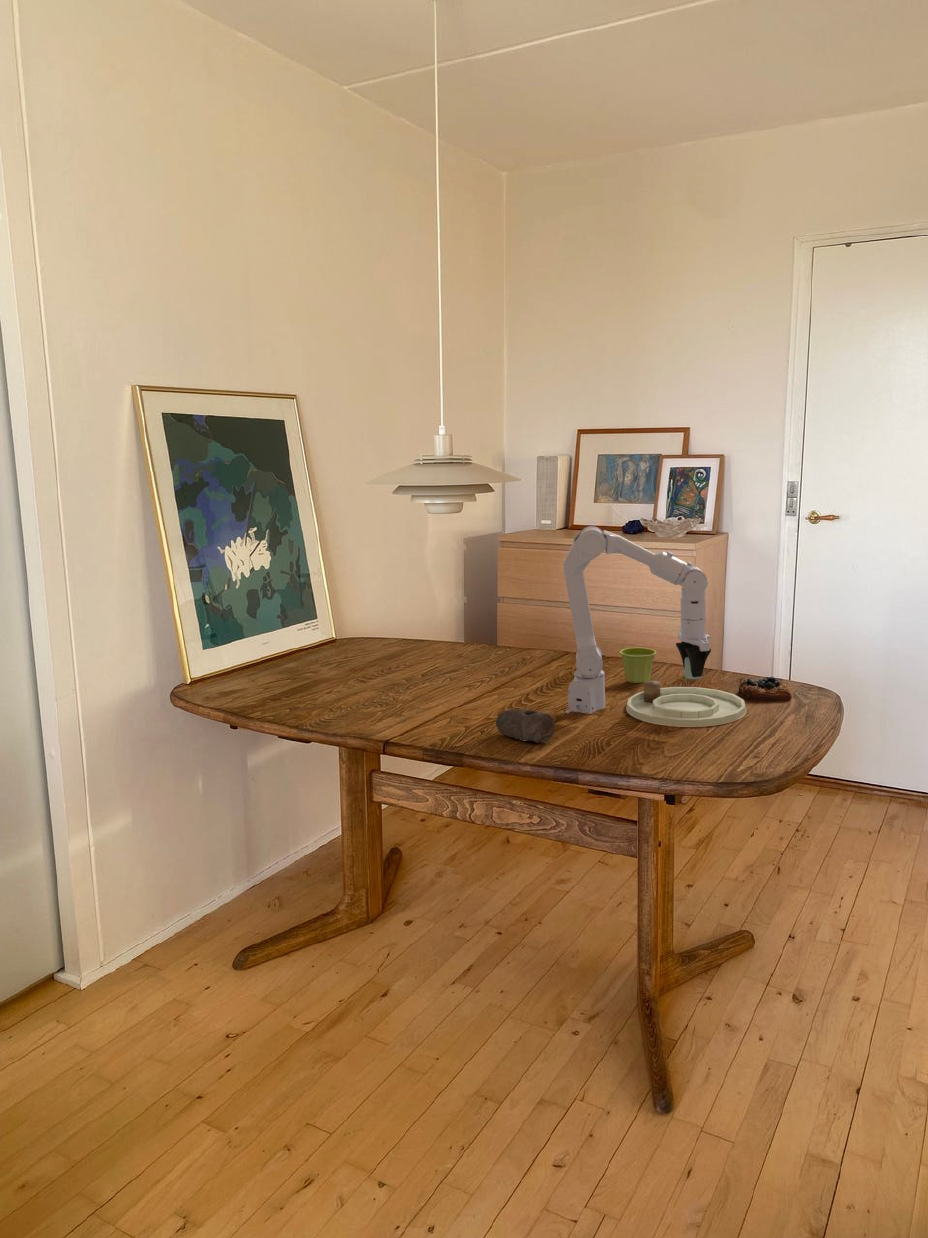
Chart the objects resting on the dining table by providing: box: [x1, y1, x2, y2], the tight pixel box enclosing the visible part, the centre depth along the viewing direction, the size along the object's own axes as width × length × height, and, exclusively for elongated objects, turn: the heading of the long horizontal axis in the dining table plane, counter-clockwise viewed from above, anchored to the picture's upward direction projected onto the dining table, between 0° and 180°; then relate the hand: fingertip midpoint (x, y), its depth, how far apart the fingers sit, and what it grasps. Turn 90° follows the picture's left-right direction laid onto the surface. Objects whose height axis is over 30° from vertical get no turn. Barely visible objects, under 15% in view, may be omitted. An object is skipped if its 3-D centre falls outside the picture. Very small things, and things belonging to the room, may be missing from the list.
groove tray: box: [625, 686, 747, 728], centre depth 221 cm, size 28×28×2 cm
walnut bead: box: [643, 680, 661, 703], centre depth 228 cm, size 4×4×5 cm
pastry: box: [738, 676, 792, 703], centre depth 228 cm, size 11×12×6 cm
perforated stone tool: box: [495, 709, 555, 744], centre depth 207 cm, size 15×5×7 cm, turn 47°
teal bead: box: [684, 657, 703, 680], centre depth 222 cm, size 4×4×5 cm
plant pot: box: [619, 647, 657, 684], centre depth 247 cm, size 9×9×9 cm
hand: (693, 674), depth 222 cm, fingers closed on teal bead, 4 cm apart
